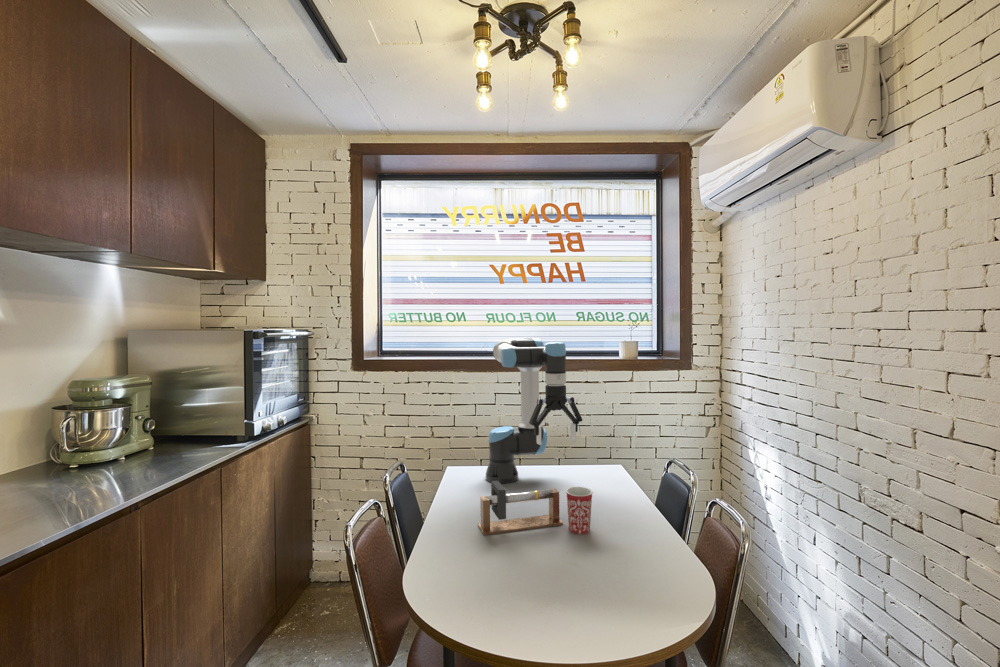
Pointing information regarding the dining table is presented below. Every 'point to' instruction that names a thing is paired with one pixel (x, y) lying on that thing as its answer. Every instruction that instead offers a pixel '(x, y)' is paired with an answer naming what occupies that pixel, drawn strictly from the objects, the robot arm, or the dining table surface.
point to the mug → (579, 509)
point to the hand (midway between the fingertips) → (556, 442)
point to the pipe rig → (520, 523)
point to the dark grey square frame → (499, 499)
